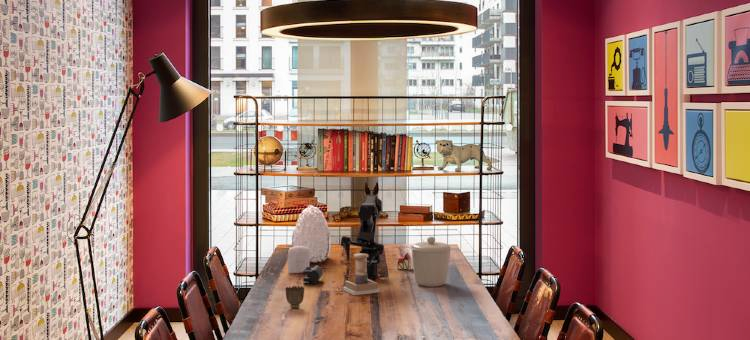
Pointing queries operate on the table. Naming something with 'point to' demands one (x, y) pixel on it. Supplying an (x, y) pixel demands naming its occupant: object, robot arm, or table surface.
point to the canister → (430, 262)
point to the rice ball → (312, 234)
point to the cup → (294, 296)
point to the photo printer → (298, 259)
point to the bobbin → (361, 269)
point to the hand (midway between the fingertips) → (358, 263)
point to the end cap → (312, 275)
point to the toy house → (404, 262)
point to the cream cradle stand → (361, 288)
